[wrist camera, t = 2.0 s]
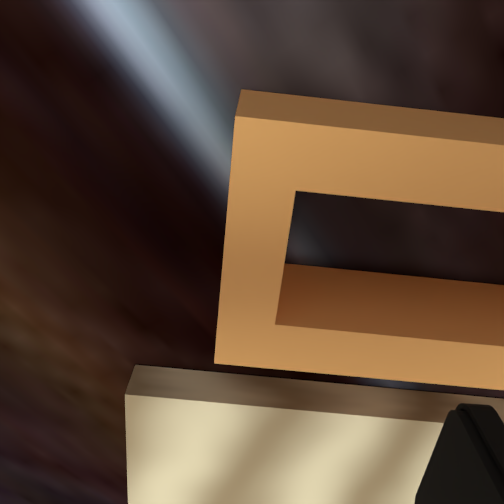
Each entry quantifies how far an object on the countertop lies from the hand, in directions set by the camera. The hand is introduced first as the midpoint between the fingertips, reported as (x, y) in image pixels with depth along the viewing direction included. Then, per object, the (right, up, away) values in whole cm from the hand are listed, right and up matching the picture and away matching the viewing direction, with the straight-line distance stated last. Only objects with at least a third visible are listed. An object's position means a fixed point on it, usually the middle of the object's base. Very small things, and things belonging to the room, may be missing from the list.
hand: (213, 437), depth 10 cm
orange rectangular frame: (+8, +5, +10) cm, 14 cm away
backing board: (+7, -10, +18) cm, 22 cm away
